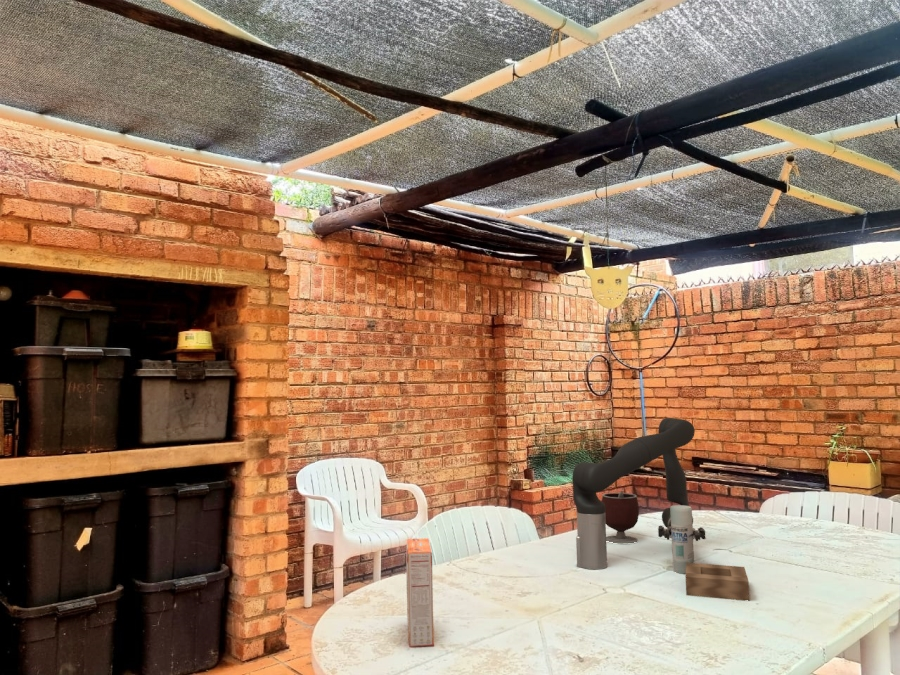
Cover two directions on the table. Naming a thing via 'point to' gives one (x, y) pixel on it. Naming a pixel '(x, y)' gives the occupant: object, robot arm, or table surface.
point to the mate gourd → (621, 515)
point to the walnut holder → (717, 581)
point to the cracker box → (419, 592)
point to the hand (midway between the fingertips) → (682, 537)
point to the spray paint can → (681, 537)
